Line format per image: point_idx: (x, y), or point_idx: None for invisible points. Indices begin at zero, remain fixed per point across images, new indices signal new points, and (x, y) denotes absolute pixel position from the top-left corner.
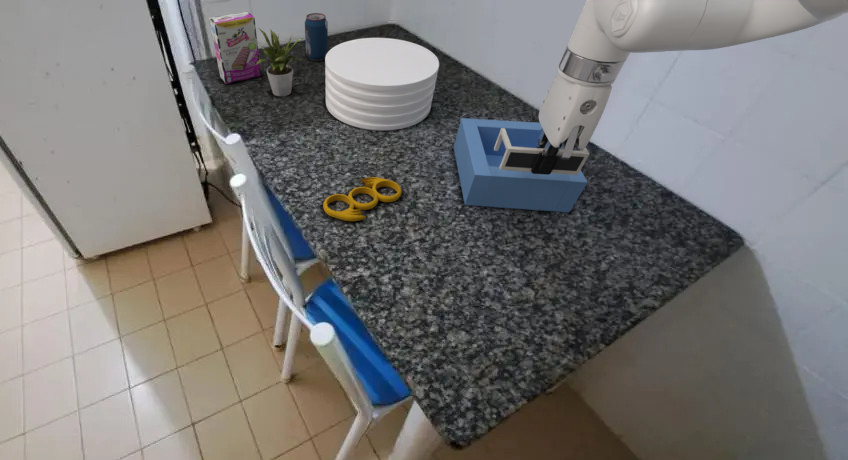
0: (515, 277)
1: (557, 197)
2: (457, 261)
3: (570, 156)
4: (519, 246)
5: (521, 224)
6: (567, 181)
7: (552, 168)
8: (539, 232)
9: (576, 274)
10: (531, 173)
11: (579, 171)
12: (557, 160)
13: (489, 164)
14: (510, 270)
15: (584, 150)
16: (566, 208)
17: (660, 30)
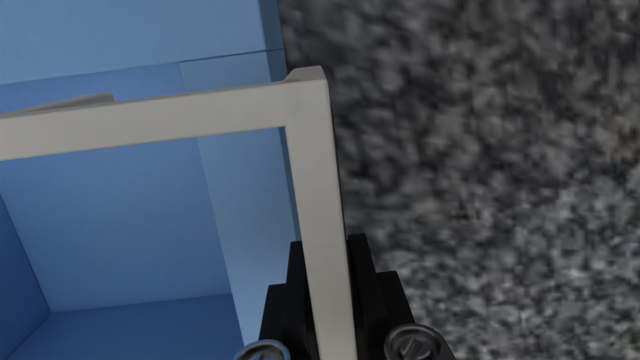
0: (593, 203)
1: (280, 66)
2: (541, 331)
3: (342, 217)
4: (475, 182)
5: (376, 167)
6: (269, 67)
7: (370, 255)
8: (404, 114)
9: (583, 22)
10: (254, 231)
11: (320, 67)
12: (379, 287)
13: (87, 252)
14: (569, 214)
15: (275, 120)
16: (275, 4)
17: None
